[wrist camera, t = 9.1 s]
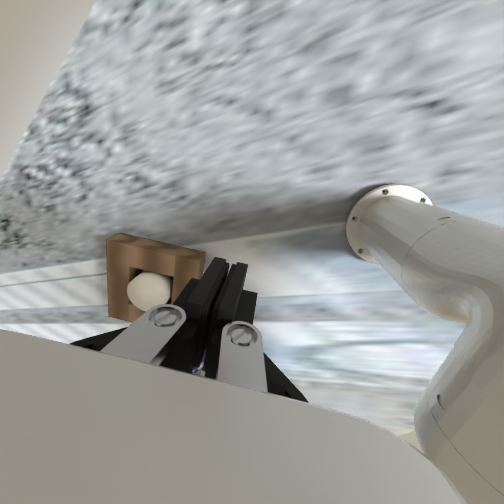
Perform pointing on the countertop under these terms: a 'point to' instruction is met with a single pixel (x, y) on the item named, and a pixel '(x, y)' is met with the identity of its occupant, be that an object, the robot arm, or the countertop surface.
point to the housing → (147, 258)
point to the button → (150, 290)
